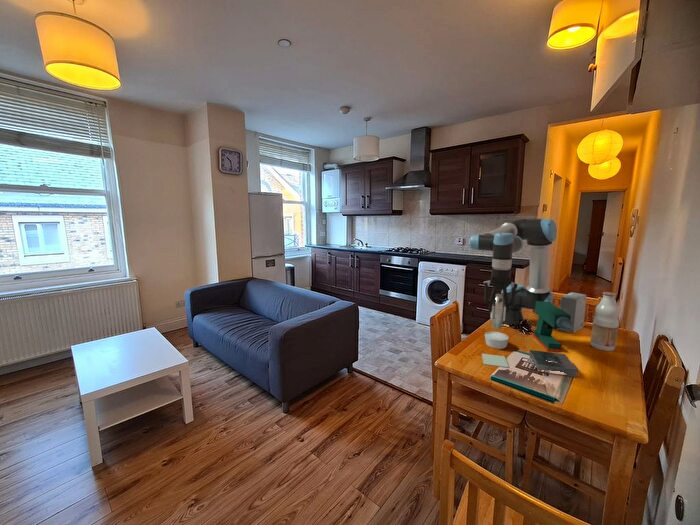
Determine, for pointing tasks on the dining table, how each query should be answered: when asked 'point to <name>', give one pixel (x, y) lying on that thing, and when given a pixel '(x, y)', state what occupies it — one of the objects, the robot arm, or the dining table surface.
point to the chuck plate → (562, 359)
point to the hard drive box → (574, 310)
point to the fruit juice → (605, 323)
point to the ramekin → (496, 340)
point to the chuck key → (498, 311)
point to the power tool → (550, 324)
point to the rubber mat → (494, 360)
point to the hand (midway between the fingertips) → (497, 319)
